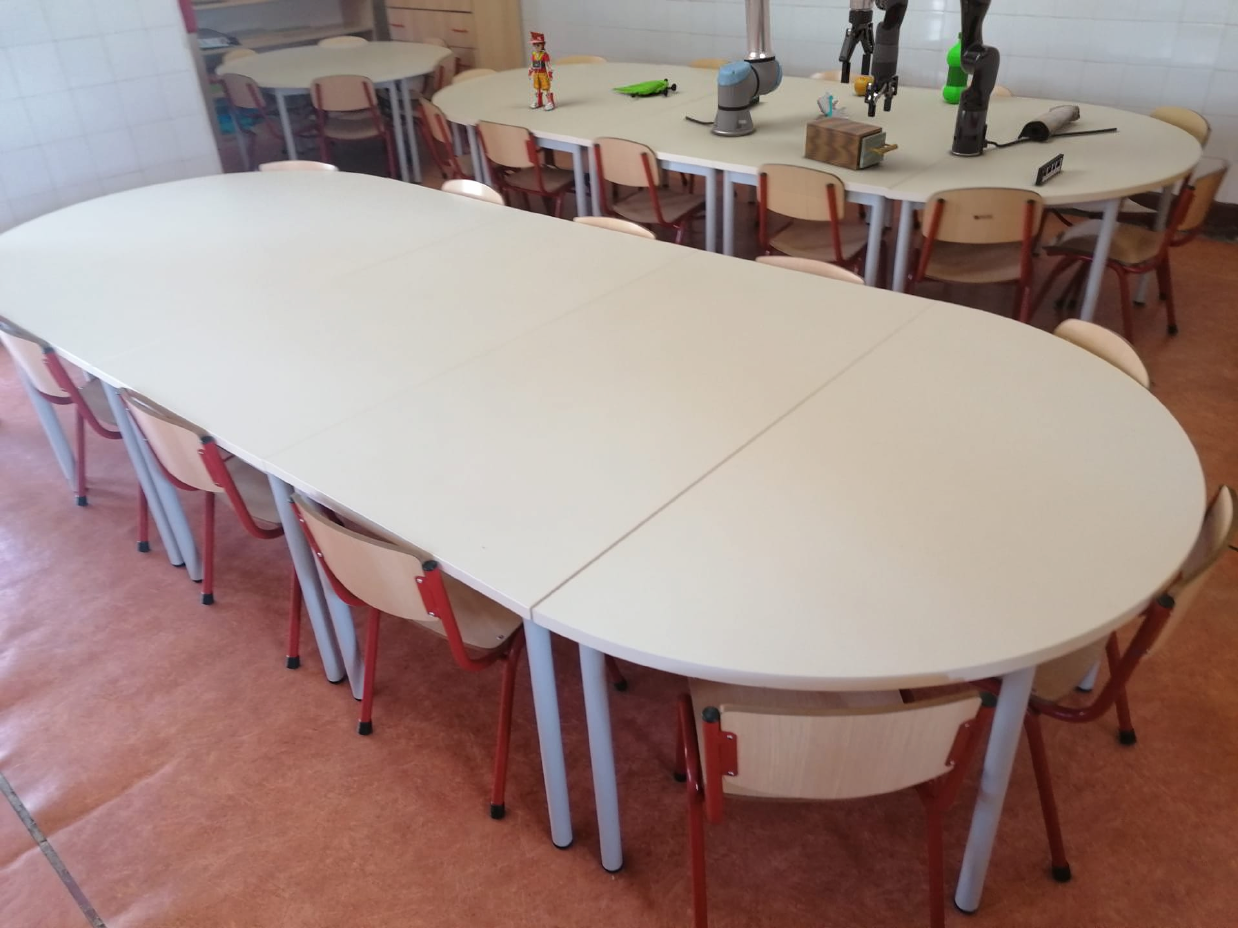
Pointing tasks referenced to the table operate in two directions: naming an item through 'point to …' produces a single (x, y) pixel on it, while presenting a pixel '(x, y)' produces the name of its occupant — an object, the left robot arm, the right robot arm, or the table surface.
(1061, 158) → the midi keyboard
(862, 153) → the drawer
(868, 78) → the fruit
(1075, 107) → the rolled mat
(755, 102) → the disk drive
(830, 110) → the anatomical model
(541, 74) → the toy
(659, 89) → the toy
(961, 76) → the plastic bottle
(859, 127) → the cabinet
